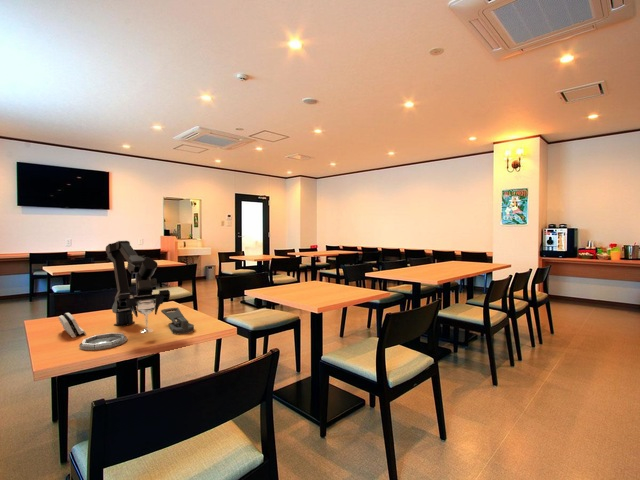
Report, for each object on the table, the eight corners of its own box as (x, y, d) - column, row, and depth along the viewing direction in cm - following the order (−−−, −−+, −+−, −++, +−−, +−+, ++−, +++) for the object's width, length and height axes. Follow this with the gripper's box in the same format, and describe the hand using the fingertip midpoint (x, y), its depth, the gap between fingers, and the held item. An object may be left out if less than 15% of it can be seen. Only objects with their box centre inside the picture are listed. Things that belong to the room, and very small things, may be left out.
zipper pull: (178, 306, 170) (196, 316, 151) (179, 320, 170) (196, 331, 151) (159, 309, 165) (174, 320, 145) (159, 323, 165) (175, 335, 145)
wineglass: (138, 329, 142) (137, 300, 141) (156, 327, 144) (155, 299, 143) (136, 334, 135) (135, 304, 135) (155, 332, 138) (154, 302, 137)
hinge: (86, 334, 148) (76, 314, 145) (74, 341, 145) (63, 320, 142) (77, 327, 159) (68, 308, 157) (66, 333, 156) (56, 313, 154)
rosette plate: (68, 348, 130) (68, 343, 130) (104, 335, 146) (104, 331, 146) (103, 352, 126) (103, 346, 126) (136, 338, 142) (136, 333, 142)
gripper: (118, 274, 137) (119, 307, 128) (168, 270, 147) (173, 301, 138) (118, 290, 144) (119, 323, 135) (166, 286, 154) (171, 316, 145)
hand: (146, 315), depth 138 cm, fingers closed on wineglass, 6 cm apart
